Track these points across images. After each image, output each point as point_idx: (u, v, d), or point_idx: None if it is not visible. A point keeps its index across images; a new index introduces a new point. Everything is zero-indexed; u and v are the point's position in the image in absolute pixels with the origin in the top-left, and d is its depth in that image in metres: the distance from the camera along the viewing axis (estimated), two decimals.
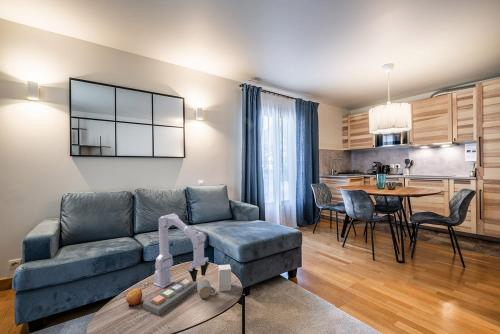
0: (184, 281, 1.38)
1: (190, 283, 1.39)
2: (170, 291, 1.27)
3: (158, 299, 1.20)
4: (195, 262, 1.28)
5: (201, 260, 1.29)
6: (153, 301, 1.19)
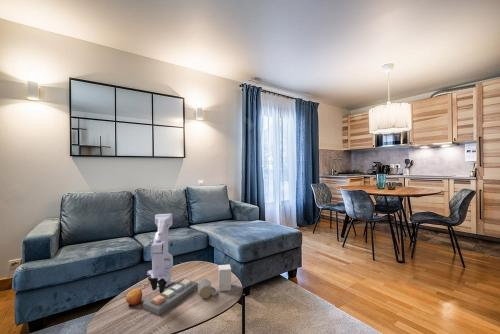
0: (184, 281, 1.38)
1: (190, 283, 1.39)
2: (170, 291, 1.27)
3: (158, 299, 1.20)
4: None
5: (152, 272, 1.19)
6: (153, 301, 1.19)
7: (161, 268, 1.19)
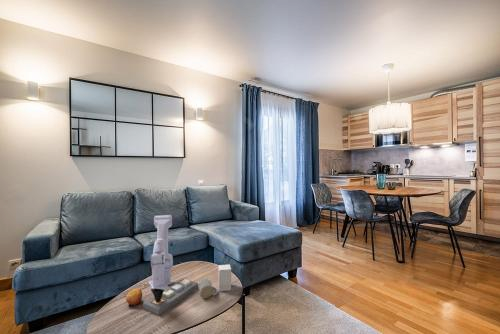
0: (184, 281, 1.38)
1: (190, 283, 1.39)
2: (170, 291, 1.27)
3: (158, 302, 1.20)
4: None
5: (152, 282, 1.19)
6: None
7: (161, 278, 1.19)
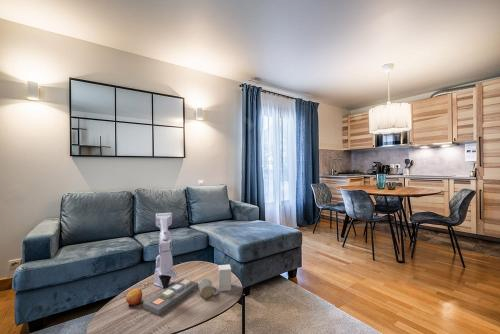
0: (184, 281, 1.38)
1: (190, 283, 1.39)
2: (170, 291, 1.27)
3: (158, 302, 1.20)
4: None
5: (160, 269, 1.23)
6: None
7: (168, 265, 1.24)
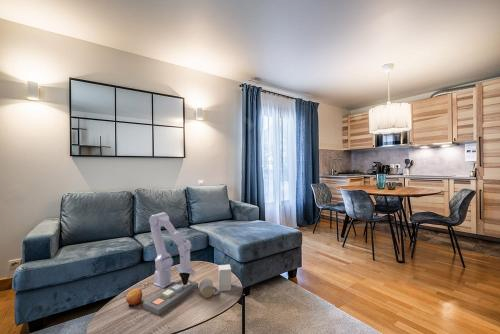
0: None
1: None
2: (170, 291, 1.27)
3: (158, 302, 1.20)
4: None
5: (180, 267, 1.36)
6: None
7: (188, 264, 1.36)
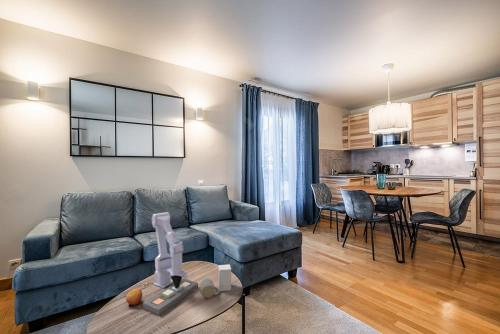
0: (184, 284, 1.38)
1: None
2: (170, 291, 1.27)
3: (158, 302, 1.20)
4: None
5: (172, 270, 1.30)
6: None
7: (180, 266, 1.31)
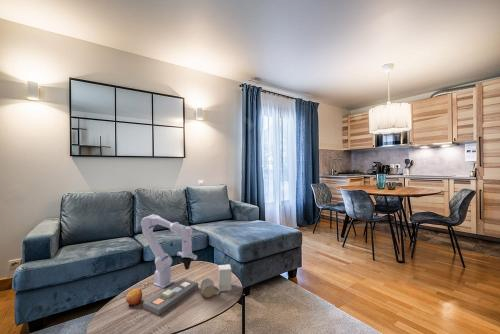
0: (184, 284, 1.38)
1: None
2: (170, 291, 1.27)
3: (158, 302, 1.20)
4: None
5: (182, 252, 1.40)
6: None
7: (190, 249, 1.40)
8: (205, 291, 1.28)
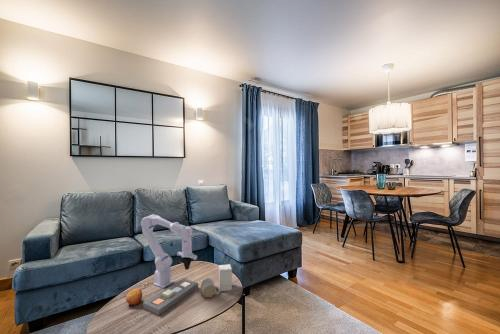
0: (184, 284, 1.38)
1: None
2: (170, 291, 1.27)
3: (158, 302, 1.20)
4: None
5: (182, 252, 1.40)
6: None
7: (190, 249, 1.40)
8: (205, 291, 1.28)
